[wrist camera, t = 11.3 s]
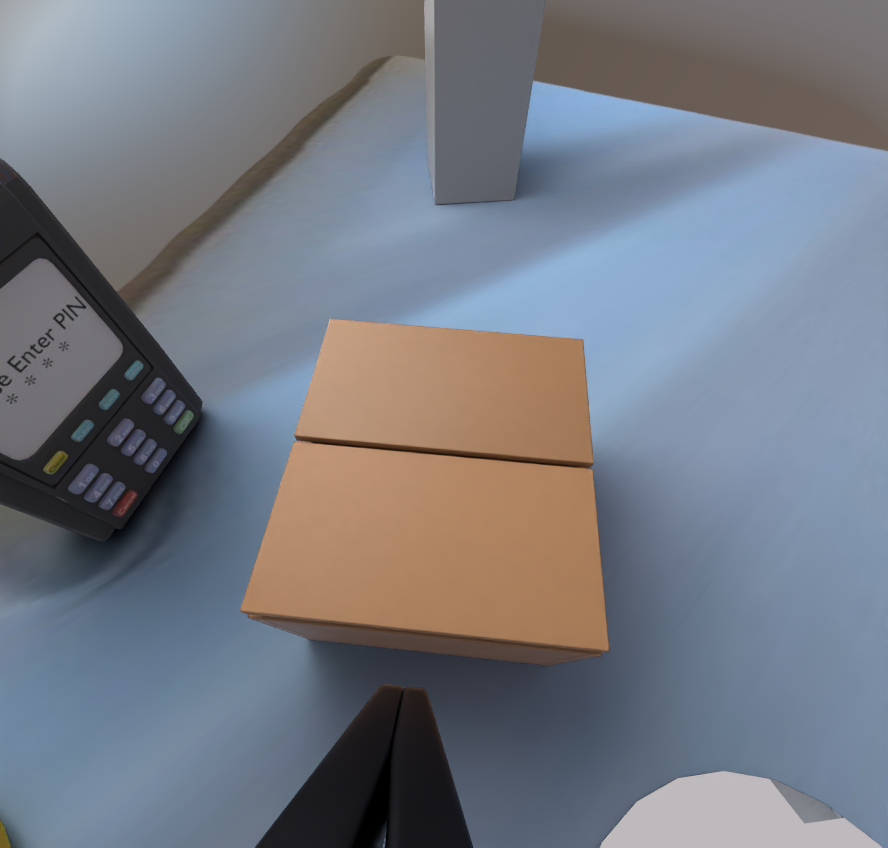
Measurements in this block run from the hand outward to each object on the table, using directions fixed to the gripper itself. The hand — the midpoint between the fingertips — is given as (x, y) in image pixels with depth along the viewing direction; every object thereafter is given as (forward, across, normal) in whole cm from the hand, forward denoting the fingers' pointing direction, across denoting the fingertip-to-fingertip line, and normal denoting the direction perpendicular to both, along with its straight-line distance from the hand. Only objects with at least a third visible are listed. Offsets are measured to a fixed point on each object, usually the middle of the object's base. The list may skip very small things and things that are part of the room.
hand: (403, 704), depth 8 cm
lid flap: (+7, 0, 0) cm, 7 cm away
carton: (+14, 0, +4) cm, 15 cm away
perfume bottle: (+36, +1, -19) cm, 41 cm away
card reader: (+16, +17, +2) cm, 23 cm away
